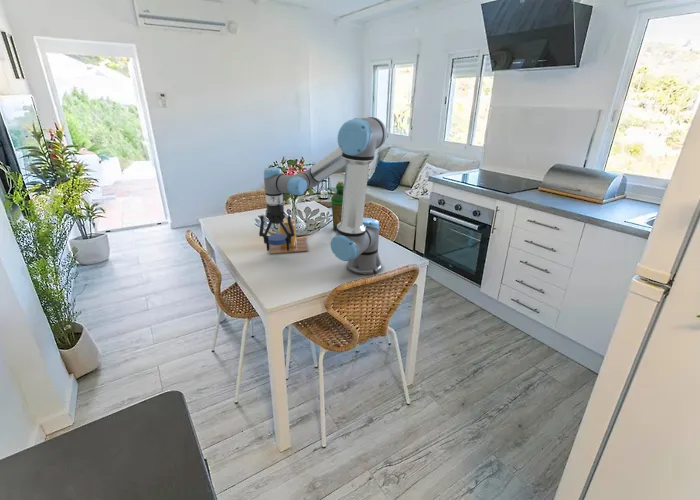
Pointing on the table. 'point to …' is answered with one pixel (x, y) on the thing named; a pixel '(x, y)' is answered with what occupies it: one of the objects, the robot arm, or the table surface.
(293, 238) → the jar
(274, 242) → the lid
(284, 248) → the mat
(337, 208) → the bottle
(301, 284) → the table surface
